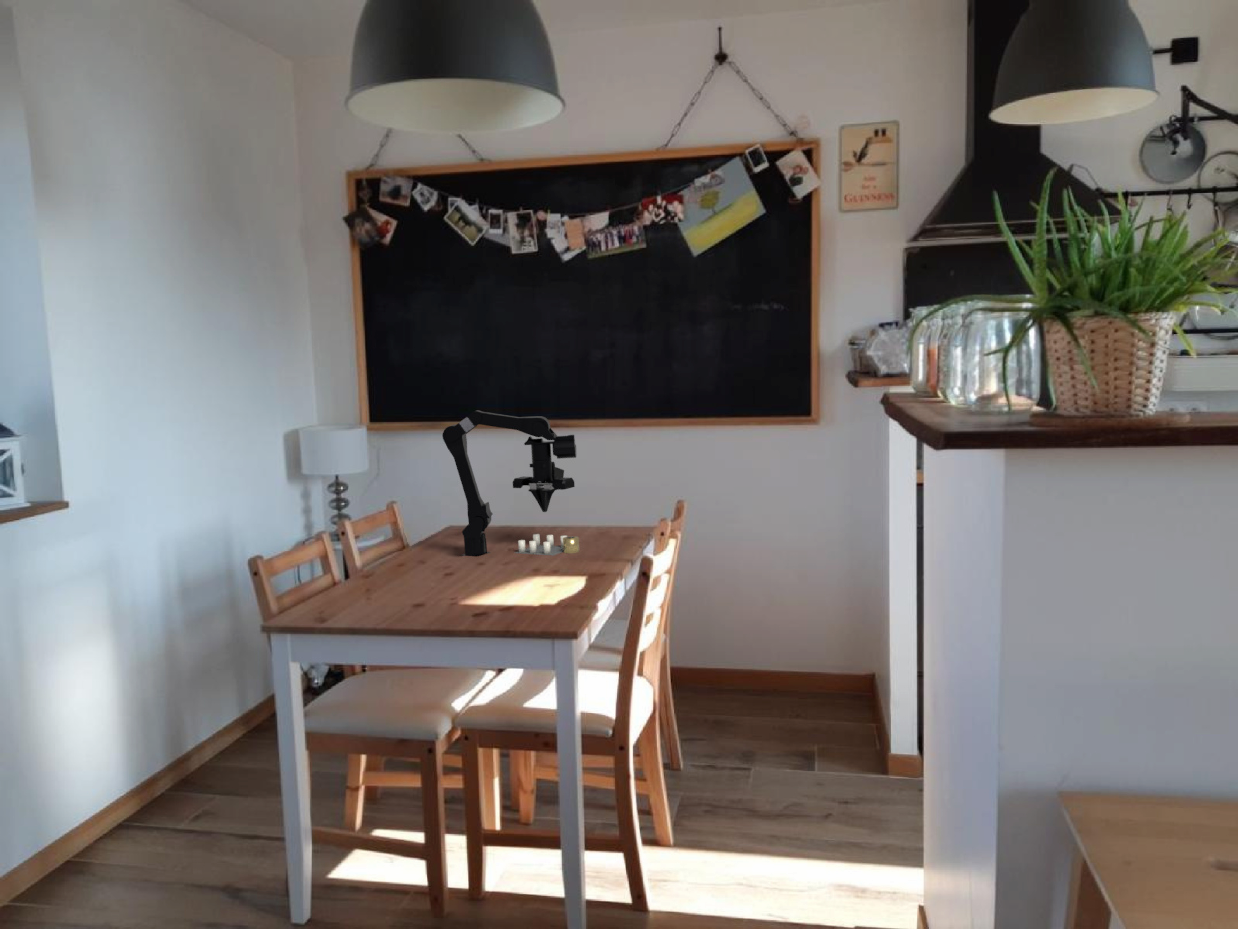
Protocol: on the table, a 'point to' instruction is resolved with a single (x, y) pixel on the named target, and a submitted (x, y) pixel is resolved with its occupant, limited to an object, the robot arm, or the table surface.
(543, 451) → the robot arm
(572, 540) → the knob
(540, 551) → the mat
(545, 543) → the spacers
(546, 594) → the table surface
